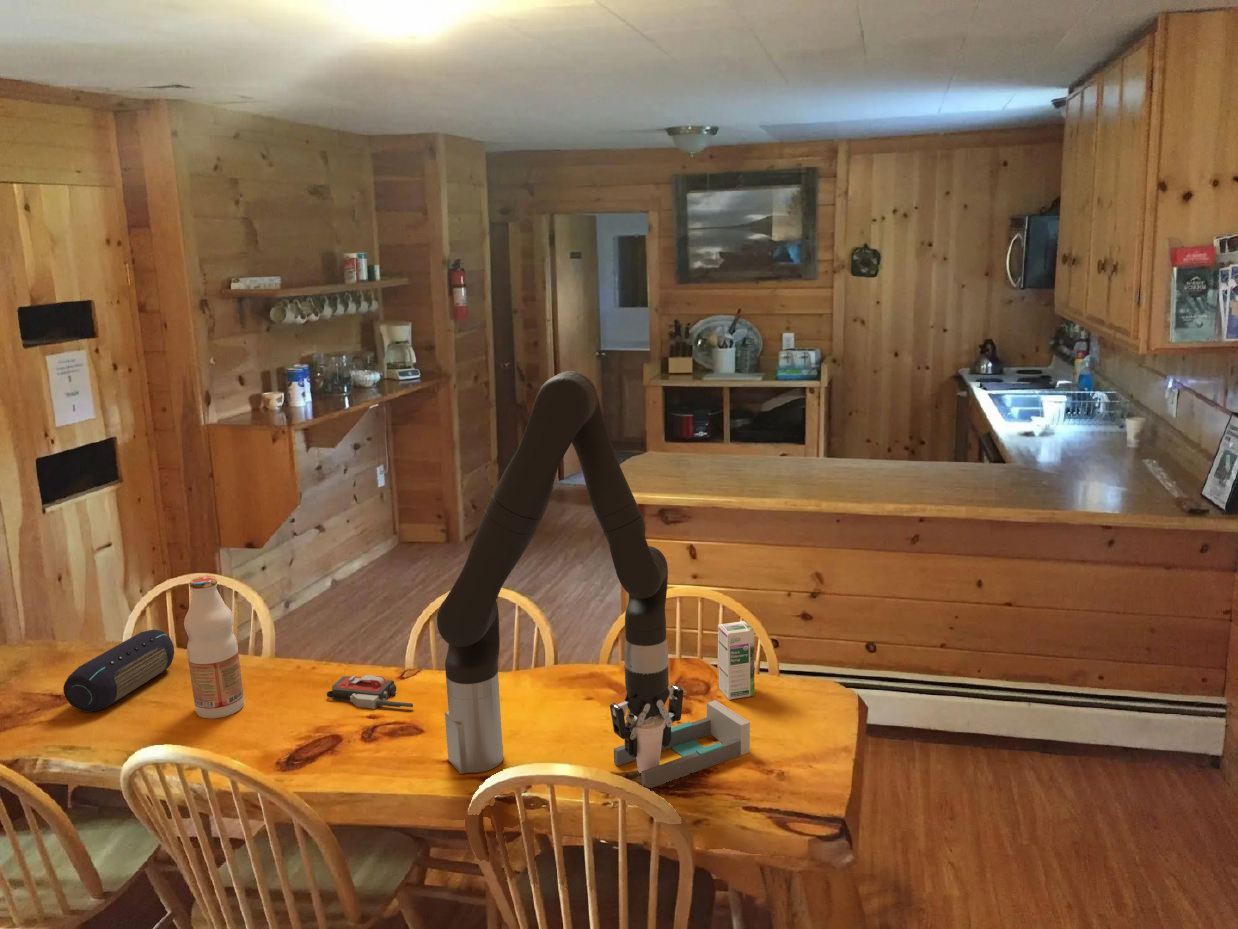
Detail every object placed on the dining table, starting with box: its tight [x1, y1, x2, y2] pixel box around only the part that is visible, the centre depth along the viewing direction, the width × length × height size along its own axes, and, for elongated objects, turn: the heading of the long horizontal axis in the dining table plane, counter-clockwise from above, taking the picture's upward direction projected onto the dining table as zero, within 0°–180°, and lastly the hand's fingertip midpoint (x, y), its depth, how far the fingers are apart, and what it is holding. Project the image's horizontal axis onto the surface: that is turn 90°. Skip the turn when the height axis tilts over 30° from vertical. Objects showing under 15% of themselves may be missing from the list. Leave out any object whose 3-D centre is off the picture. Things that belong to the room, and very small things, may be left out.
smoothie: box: [630, 715, 666, 774], centre depth 176 cm, size 6×6×14 cm
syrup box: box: [717, 620, 755, 701], centre depth 204 cm, size 6×6×14 cm
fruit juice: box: [183, 575, 245, 719], centre depth 201 cm, size 9×9×28 cm
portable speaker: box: [63, 629, 175, 713], centre depth 213 cm, size 25×10×10 cm, turn 165°
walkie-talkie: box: [326, 674, 414, 710], centre depth 207 cm, size 9×4×20 cm
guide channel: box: [613, 699, 751, 789], centre depth 180 cm, size 22×11×6 cm, turn 121°
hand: (648, 749), depth 177 cm, fingers closed on smoothie, 6 cm apart
